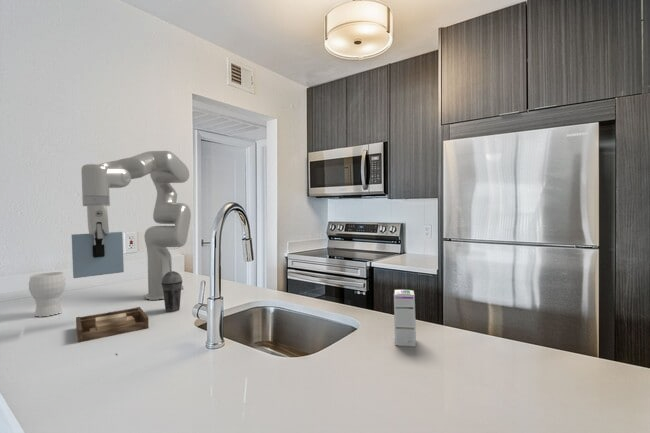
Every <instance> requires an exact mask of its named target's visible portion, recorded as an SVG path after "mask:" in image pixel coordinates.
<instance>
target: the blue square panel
mask: <svg viewBox="0 0 650 433" xmlns="http://www.w3.org/2000/svg"><path fill="white" fill-rule="evenodd" d="M95 236H97V234H96V235H95ZM103 236H104V252H105V256H104V257H96V258H94V257H93V245H94V244H93V236H92V235H91V234H89V233H77V234H76V233H75V234H71V252H72V255H71V256H72V257H71V258H72V276H73V277H72V278H73V279H78V278H89V277H95V276H103V275H104V276H105V275H112V274H119V273H125V272H124V271H125V270H124V269H125V268H124V267H125V266H124V264H125V263H124V244H123V243H124V241H123V240H124V239H123V231H114V232H113V231H111V232H110V231H109V235H106V234H105V233H103Z"/></svg>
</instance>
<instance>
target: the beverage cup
mask: <svg viewBox="0 0 650 433" xmlns="http://www.w3.org/2000/svg"><path fill="white" fill-rule="evenodd" d="M169 265H170V272H168V273H166V274H165V275H164V277H163V279H162V283H161V284H162V288H163V293H164V299H163V300H164V307H165V308H164V309H165V312H166V313H176V312H179V311H180V309H181V296H182V295H181V293H182V290H181V287H182V286H183V278H182V275H181V274H180V273H179V272H177V271H173V269H172V270H171V260H169Z"/></svg>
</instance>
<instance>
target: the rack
mask: <svg viewBox="0 0 650 433" xmlns="http://www.w3.org/2000/svg"><path fill="white" fill-rule="evenodd" d="M122 313H126V315H127V317H128V316H132V317H133V318H134V319H135V322H136V323H134V324H129V325H124V326H119V327H113V328H108V329H103V330H98V331H93V332H90V331H89V328H95V323H96V317H103V316H109V315H115V314H122ZM75 322H76V325H75V326H76V328H75V329H76V335H77V343H83V342H88V341H89V342H90V341H92V340H98V339H102V338H108V337H112V336H118V335H123V334H127V333H132V332H137V331H143V330H146V329H147V330H148V329H149V328H150V327H149V316H148V315H147V314H146V312H144V310H143V309H142V308H141V307H140V306H136V307H132V308H126V309H122V310H114V311H107V312H104V313H97V314H90V315H85V316H77V317H75Z"/></svg>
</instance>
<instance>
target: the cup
mask: <svg viewBox="0 0 650 433" xmlns="http://www.w3.org/2000/svg"><path fill="white" fill-rule="evenodd" d="M65 286H66V276H65V273H64V272H63V271H62V272H61V271H53V272H52V271H51V272H50V271H49V272H42V273H35V274H32V275H30V278H29V280H28V290H29V292H30V295H31V297H32V298H33V299H34V302H35V306H36V308H35V312H34V313H35V314H34V317H35V316H48V315H52V314H56V313H59V312H61V311H62V307H61V296H62V294H63V292H64V290H65V289H66V288H65ZM61 313H62V312H61ZM48 317H49V316H48Z"/></svg>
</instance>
